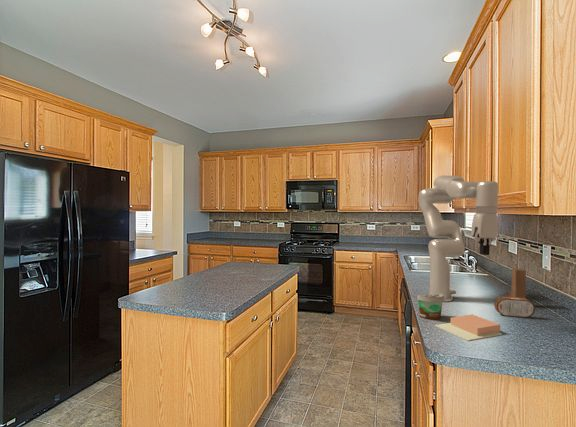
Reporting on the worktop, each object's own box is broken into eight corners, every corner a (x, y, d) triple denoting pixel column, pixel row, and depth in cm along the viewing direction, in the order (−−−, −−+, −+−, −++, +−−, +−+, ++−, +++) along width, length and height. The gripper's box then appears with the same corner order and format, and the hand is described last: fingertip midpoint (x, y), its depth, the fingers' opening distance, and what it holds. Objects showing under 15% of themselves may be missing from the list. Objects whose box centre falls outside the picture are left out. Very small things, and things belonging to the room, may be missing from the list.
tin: (532, 316, 138) (532, 297, 137) (536, 319, 134) (536, 300, 134) (493, 313, 141) (494, 295, 141) (496, 316, 138) (496, 297, 138)
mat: (467, 320, 132) (467, 320, 132) (502, 334, 118) (502, 333, 118) (435, 326, 126) (435, 325, 126) (468, 341, 112) (468, 340, 112)
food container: (426, 322, 130) (426, 298, 130) (416, 317, 136) (416, 294, 136) (450, 319, 133) (451, 296, 133) (440, 314, 139) (440, 292, 139)
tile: (472, 314, 131) (450, 317, 126) (500, 324, 119) (477, 328, 115) (472, 320, 131) (450, 324, 126) (500, 331, 119) (477, 335, 115)
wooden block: (506, 301, 161) (507, 266, 160) (516, 301, 159) (517, 266, 159) (514, 306, 152) (515, 269, 152) (525, 307, 151) (526, 270, 150)
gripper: (491, 210, 135) (489, 252, 136) (464, 210, 131) (463, 253, 132) (508, 211, 128) (505, 255, 129) (480, 211, 124) (478, 257, 125)
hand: (484, 254), depth 131 cm, fingers closed
